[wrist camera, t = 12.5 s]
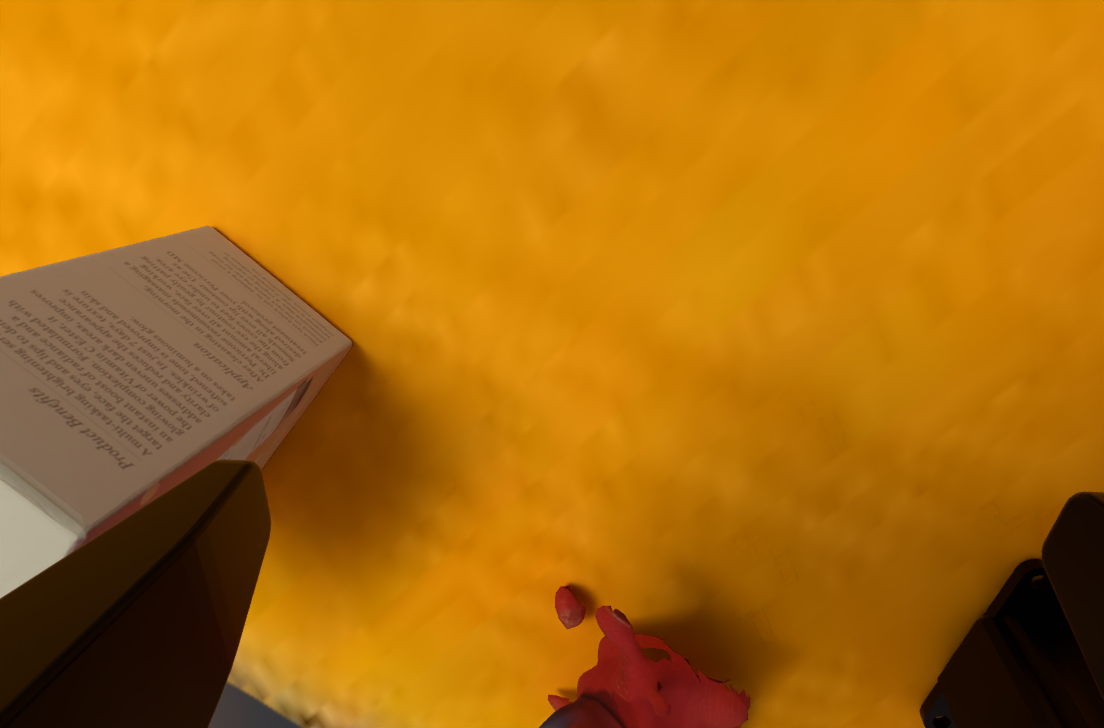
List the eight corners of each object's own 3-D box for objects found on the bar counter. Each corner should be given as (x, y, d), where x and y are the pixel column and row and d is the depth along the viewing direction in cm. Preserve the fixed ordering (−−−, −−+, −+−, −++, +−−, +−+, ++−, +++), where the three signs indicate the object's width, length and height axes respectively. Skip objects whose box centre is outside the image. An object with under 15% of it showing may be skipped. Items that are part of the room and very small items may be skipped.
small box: (241, 504, 24) (-58, 773, 15) (107, 400, 24) (-294, 607, 14) (362, 340, 21) (85, 543, 12) (211, 217, 21) (-209, 322, 11)
